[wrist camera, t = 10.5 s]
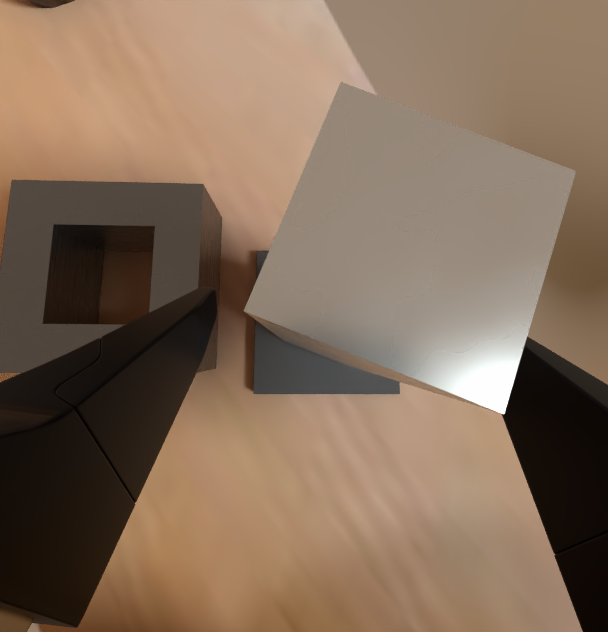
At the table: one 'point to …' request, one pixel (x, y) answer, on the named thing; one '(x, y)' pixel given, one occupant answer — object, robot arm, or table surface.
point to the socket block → (96, 259)
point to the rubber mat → (306, 367)
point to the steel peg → (413, 250)
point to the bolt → (49, 3)
